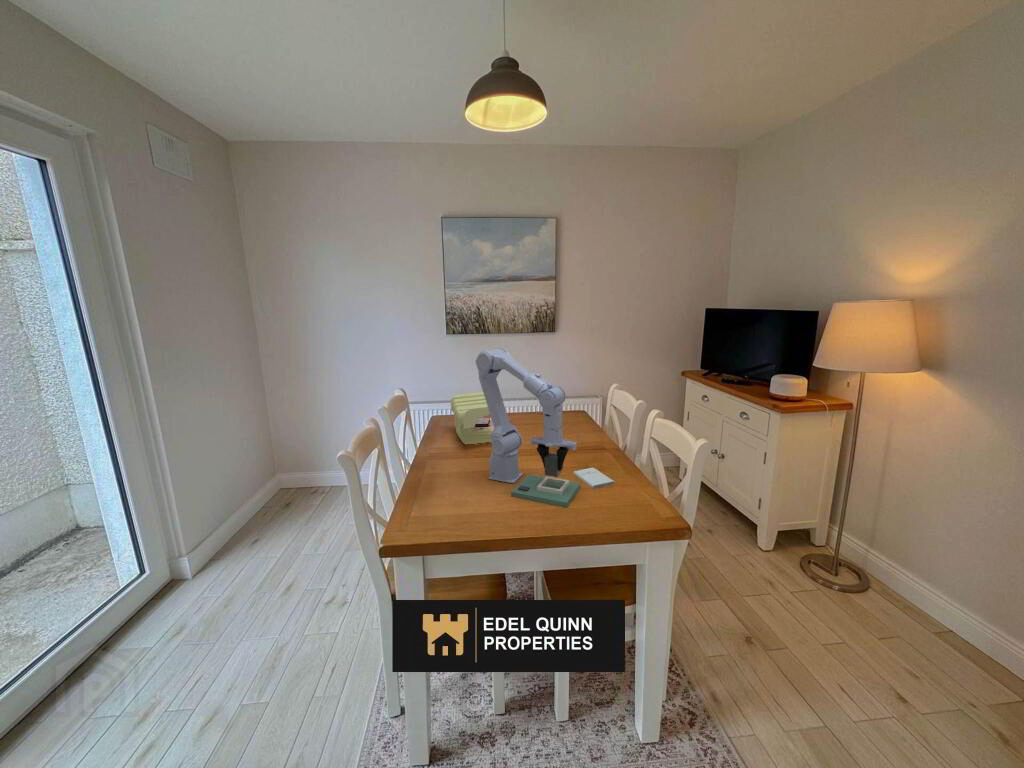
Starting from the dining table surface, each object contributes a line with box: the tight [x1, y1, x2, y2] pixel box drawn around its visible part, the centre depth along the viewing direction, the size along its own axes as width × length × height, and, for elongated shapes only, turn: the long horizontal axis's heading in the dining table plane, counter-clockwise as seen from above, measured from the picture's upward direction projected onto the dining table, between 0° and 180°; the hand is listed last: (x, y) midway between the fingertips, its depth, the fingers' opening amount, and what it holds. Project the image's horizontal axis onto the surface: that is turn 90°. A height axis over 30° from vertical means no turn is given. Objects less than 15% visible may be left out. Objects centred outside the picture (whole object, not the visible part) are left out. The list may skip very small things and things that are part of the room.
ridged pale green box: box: [450, 391, 493, 446], centre depth 176 cm, size 30×16×18 cm, turn 18°
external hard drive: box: [573, 467, 615, 490], centre depth 135 cm, size 2×8×12 cm
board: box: [510, 473, 582, 508], centre depth 126 cm, size 18×14×3 cm
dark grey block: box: [544, 451, 562, 478], centre depth 125 cm, size 4×4×6 cm
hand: (553, 468), depth 125 cm, fingers closed on dark grey block, 4 cm apart
